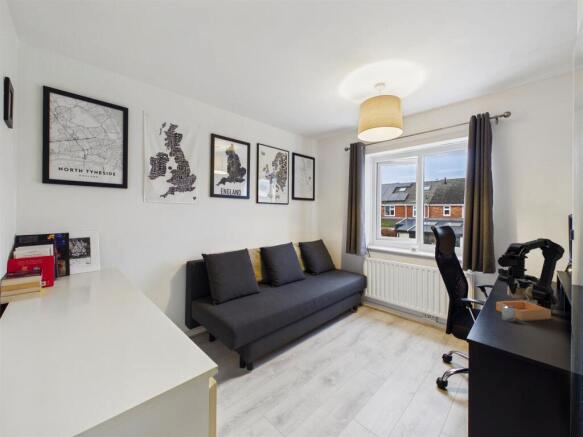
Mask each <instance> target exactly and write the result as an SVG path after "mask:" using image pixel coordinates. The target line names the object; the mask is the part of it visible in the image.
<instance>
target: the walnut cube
mask: <svg viewBox="0 0 583 437" xmlns="http://www.w3.org/2000/svg"><path fill="white" fill-rule="evenodd" d="M508 296H509V297H511V296H512V298H514V297H515V298H514V299H517V300H518V299H521V298H526V289H524V288H520V287H517V289H516V292H515V294H514V295H513V294H512V293H511V291H510V288H509V295H508Z"/></svg>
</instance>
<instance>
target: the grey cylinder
mask: <svg viewBox="0 0 583 437" xmlns="http://www.w3.org/2000/svg"><path fill="white" fill-rule="evenodd" d="M501 320H503V321H506V322H510V323H515V320H516V318H515V308H514V307H512V306H508V305H503V306H502V313H501Z"/></svg>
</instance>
